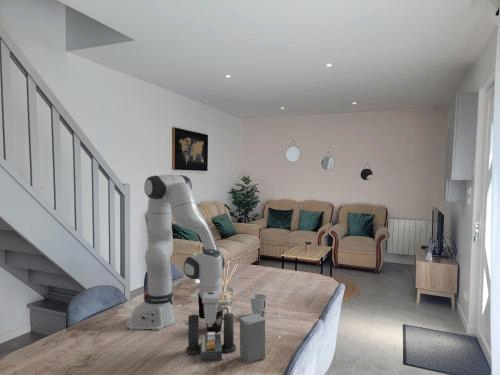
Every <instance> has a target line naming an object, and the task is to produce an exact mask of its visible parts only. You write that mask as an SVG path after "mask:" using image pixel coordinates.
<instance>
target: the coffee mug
mask: <svg viewBox="0 0 500 375" xmlns="http://www.w3.org/2000/svg"><path fill="white" fill-rule="evenodd" d="M224 310H226V313H229V308H228V307H225V306H223V305H220V304H218V305H217V313H216V320H215V323H214V324H212V327H208V324H206V323H205V324H206V331H207V332H215V334H219V333H220V332H221V331H222V324H223V321H224Z"/></svg>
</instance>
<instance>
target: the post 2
mask: <svg viewBox="0 0 500 375" xmlns="http://www.w3.org/2000/svg"><path fill="white" fill-rule="evenodd" d="M223 317H224V319H223V344H221V345H222V353H224V354H225V353H226V354H231V353H234V352H235V351H236V350H237V345H236V344H235V343H234V342H235V341H234V335H235V333H234V331H235V330H234V324H235V323H234V314H233V313H231V312H228V313H227V312H225V313H223Z"/></svg>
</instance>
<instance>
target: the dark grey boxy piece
mask: <svg viewBox="0 0 500 375" xmlns="http://www.w3.org/2000/svg"><path fill="white" fill-rule="evenodd" d="M206 343H207V334H201V339H200V347H201V352H200V362H201V363H202V362H213V361H214V362H216V361H217V362H218V361H223V351H222V345H223V344H222V334H221V333H215V348H212V349H208V350H207V346H206Z"/></svg>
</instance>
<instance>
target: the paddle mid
mask: <svg viewBox="0 0 500 375" xmlns="http://www.w3.org/2000/svg"><path fill="white" fill-rule="evenodd" d="M211 341H214V343H215V336H214V337H207V342H211Z"/></svg>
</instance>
